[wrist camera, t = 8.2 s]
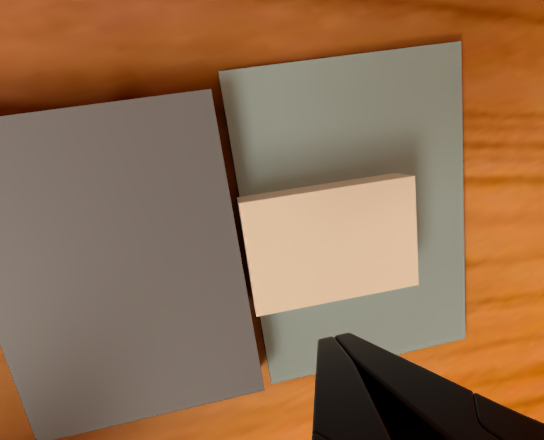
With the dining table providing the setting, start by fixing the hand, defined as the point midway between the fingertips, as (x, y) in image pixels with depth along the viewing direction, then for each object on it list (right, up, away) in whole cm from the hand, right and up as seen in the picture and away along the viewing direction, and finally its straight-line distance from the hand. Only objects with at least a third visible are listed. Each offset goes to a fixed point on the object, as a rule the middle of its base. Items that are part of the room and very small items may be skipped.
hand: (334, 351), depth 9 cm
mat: (+3, +3, +11) cm, 12 cm away
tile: (+1, +2, +10) cm, 10 cm away
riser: (-9, +1, +10) cm, 13 cm away
